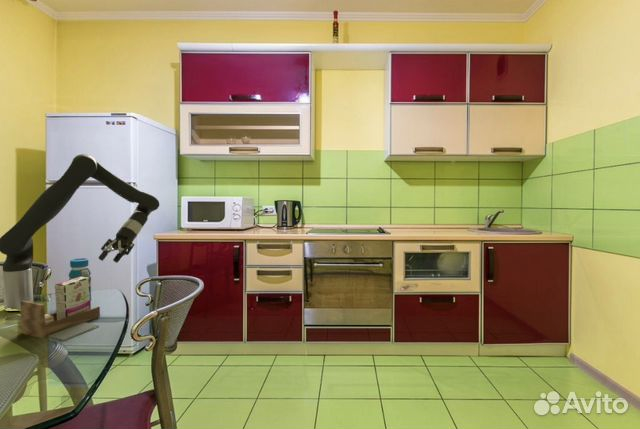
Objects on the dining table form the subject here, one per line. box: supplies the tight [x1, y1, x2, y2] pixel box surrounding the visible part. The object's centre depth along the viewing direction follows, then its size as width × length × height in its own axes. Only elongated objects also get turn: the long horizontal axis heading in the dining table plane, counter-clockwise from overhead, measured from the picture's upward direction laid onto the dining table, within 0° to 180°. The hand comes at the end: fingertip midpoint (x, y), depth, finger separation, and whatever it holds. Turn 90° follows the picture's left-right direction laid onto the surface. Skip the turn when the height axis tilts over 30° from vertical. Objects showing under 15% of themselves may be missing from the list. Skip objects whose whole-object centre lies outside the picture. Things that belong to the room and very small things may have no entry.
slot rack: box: [20, 300, 101, 340], centre depth 132 cm, size 11×22×12 cm, turn 161°
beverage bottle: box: [68, 257, 92, 303], centre depth 155 cm, size 8×8×20 cm
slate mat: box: [47, 322, 100, 342], centre depth 126 cm, size 8×13×1 cm, turn 161°
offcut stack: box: [45, 313, 55, 325], centre depth 125 cm, size 6×5×5 cm
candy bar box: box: [54, 277, 92, 321], centre depth 135 cm, size 11×5×16 cm, turn 168°
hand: (107, 260), depth 148 cm, fingers open, 8 cm apart
